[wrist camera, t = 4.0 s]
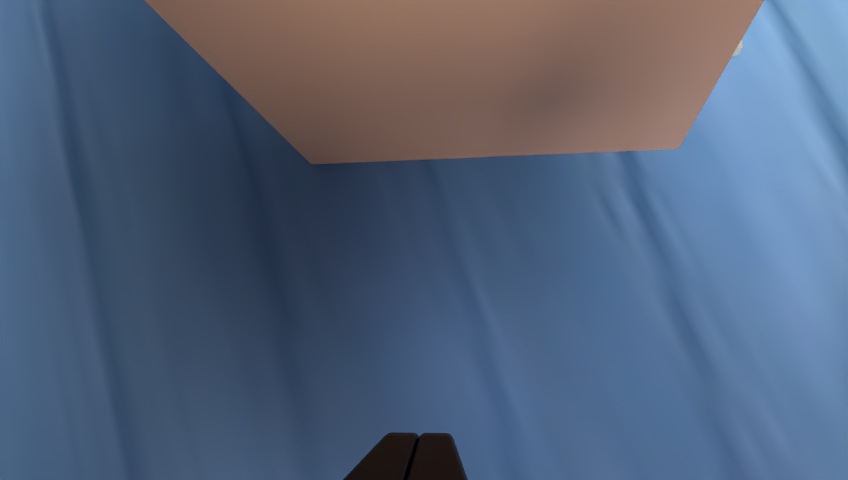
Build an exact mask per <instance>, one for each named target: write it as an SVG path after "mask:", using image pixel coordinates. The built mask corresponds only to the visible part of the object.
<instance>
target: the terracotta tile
mask: <svg viewBox="0 0 848 480" xmlns="http://www.w3.org/2000/svg"><path fill="white" fill-rule="evenodd" d="M145 1H146V2H147V3H148V4H149V5H150V6H151V7H152V8H153V9H154V10H155V11H156V12H157V13H158V14H159V15H160V16H161V17H162V18H163V19H164V20H165V21H166V22H167V23H168V24H169V25H170V26H171V27H172V28H173V29H174V30H175V31H176V32H177V33H178V34H179V35H180V36H181V37H182V38H183V39H184V40H185V41H186V42H187V43H188V44H189V45H190V46H191V47H192V48H193V49H194V50H195V51H196V52H197V53H198V54H199V55H200V56H201V57H203V58H204V59H205V60H206V61H207V62H208V63H209V64H210V65H211V66H212V67H213V68H214V69H215V70H216V71H217V72H218V73H219V74H220V75H221V76H222V77H223V78H224V79H225V80H226V81H227V82H228V83H229V84H230V85H231V86H232V87H233V88H234V89H235V90H236V91H237V92H238V93H239V94H240V95H241V96H242V97H243V98H244V99H245V100H246V101H247V102H248V103H249V104H250V105H251V106H252V107H253V108H254V109H255V110H256V111H257V112H258V113H259V114H261V115H262V116H263V117H264V118H265V119H266V120H267V121H268V122H269V123H270V124H271V125H272V126H273V127H274V128H275V129H276V130H277V131H278V132H279V133H280V134H281V135H282V136H283V137H284V138H285V139H286V140H287V141H288V142H289V143H290V144H291V145H292V146H293V147H294V148H295V149H296V150H297V151H298V152H299V153H300V154H301V155H302V156H303V157H304V158H305V159H306V160H307V161H308V162H309V163H310V164H333V163H357V162H380V161H404V160H427V159H451V158H474V157H498V156H521V155H545V154H568V153H592V152H615V151H639V150H662V149H679V147H680V145H681V144H682V142H683V140H684V138H685V137H686V135H687V133H688V131H689V130H690V128H691V126H692V125H693V123H694V121H695V119H696V118H697V116H698V114H699V112H700V111H701V109H702V107H703V105H704V104H705V102H706V100H707V99H708V97H709V95H710V93H711V92H712V90H713V88H714V86H715V85H716V83H717V81H718V79H719V78H720V76H721V74H722V72H723V71H724V69H725V67H726V66H727V64H728V62H729V60H730V59H731V57H732V55H733V53H734V52H735V50H736V48H737V46H738V45H739V43H740V41H741V40H742V38H743V36H744V34H745V33H746V31H747V29H748V27H749V26H750V24H751V22H752V20H753V19H754V17H755V15H756V13H757V12H758V10H759V8H760V7H761V5H762V3H763V1H764V0H145Z"/></svg>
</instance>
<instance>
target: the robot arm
mask: <svg viewBox="0 0 848 480" xmlns="http://www.w3.org/2000/svg"><path fill="white" fill-rule="evenodd" d="M343 480H468V479H467V476H466V474H465V471H464V468H463V465H462V462H461V459H460V456H459V454H458V451H457V448H456V445H455V442H454V439H453V437H452V436H451V435H450V434H448V433H423V434H422V435H421V436H420V437H419V436H418V435H417V434H416V433H388V434H387V435H385V436H384V437H383V438H382V439H381V440H380V441H379V443H378V444H377V445H376V446H375V447H374V448H373V449H372V450H371V451H370V452H369V453H368V454H367V455H366V456H365V457H364V458H363V459H362V460H361V461H360V463H359V464H358V465H357V466H356V467H355V468H354V469H353V470H352V471H351V472H350V473H349V474H348V475H347V476H346V477H345V478H344V479H343Z"/></svg>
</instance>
